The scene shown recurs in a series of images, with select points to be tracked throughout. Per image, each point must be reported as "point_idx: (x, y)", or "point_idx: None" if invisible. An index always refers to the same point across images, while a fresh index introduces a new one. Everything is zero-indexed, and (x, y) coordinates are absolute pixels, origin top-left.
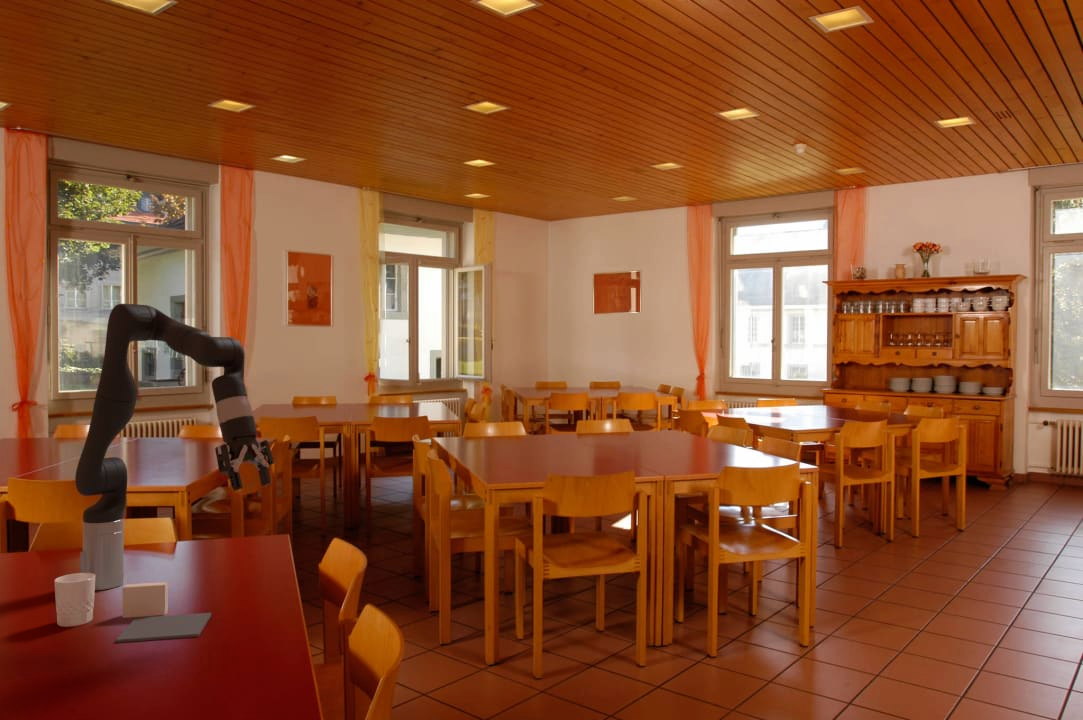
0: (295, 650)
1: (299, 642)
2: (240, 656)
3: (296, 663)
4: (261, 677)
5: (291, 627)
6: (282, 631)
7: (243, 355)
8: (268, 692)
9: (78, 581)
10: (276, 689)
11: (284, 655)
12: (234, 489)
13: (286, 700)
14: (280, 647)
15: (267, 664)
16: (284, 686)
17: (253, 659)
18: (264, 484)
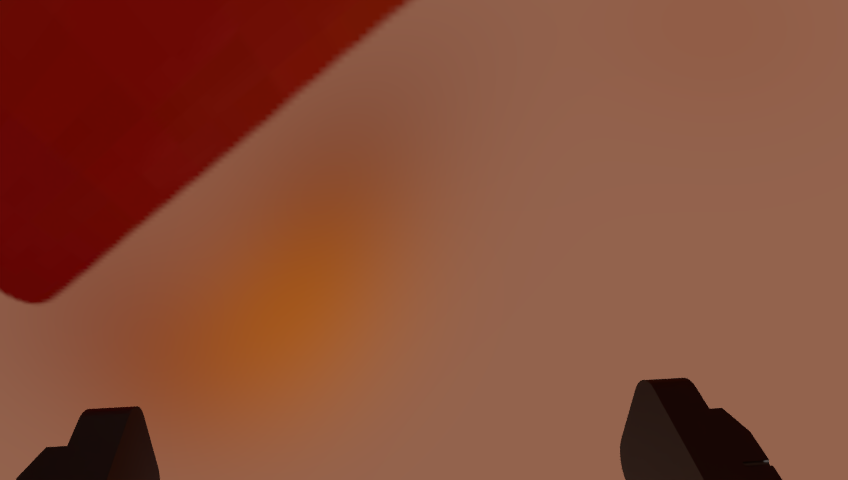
0: (217, 139)
1: (269, 114)
2: (72, 41)
3: (157, 188)
4: (39, 175)
5: (364, 11)
6: (316, 10)
7: None
8: (9, 228)
9: None
10: (31, 231)
11: (172, 138)
12: (90, 428)
13: (20, 268)
14: (206, 94)
15: (98, 140)
16: (54, 234)
17: (89, 89)
18: (632, 417)
